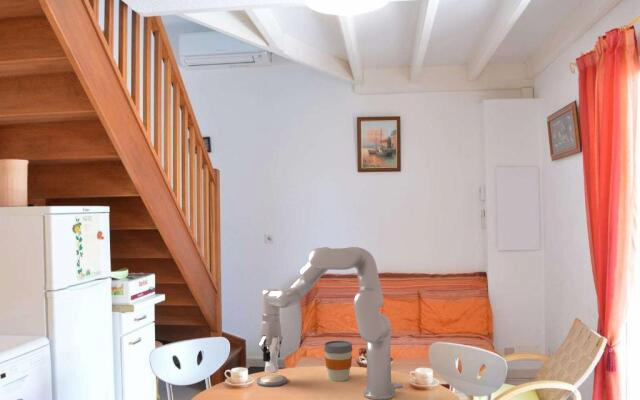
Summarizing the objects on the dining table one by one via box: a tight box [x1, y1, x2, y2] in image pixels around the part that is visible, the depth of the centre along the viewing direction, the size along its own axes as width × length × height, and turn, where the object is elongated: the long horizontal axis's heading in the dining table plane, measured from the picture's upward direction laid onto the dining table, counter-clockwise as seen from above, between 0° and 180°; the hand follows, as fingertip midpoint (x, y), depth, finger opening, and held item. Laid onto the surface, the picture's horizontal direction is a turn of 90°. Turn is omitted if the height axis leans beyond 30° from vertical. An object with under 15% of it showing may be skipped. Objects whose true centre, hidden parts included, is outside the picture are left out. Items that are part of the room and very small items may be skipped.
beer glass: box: [264, 336, 280, 374], centre depth 216 cm, size 7×7×15 cm
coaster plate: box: [256, 374, 288, 388], centre depth 215 cm, size 13×13×2 cm
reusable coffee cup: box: [323, 340, 353, 382], centre depth 219 cm, size 13×13×15 cm
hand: (271, 359), depth 215 cm, fingers closed on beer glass, 6 cm apart
